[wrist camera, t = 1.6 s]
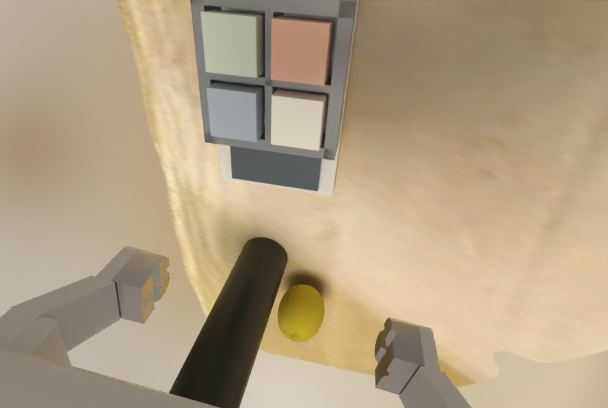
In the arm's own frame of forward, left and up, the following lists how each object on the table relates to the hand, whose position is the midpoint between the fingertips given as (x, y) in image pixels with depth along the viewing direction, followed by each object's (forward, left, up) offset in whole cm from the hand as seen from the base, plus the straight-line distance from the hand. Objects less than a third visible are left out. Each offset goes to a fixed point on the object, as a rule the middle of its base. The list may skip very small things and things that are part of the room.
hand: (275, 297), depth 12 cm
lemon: (+18, +16, -23) cm, 33 cm away
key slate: (+6, -6, -19) cm, 21 cm away
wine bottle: (+19, +9, -23) cm, 31 cm away
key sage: (+2, -9, -19) cm, 22 cm away
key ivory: (+2, -2, -19) cm, 20 cm away
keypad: (+4, -4, -23) cm, 23 cm away
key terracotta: (-2, -6, -19) cm, 20 cm away
